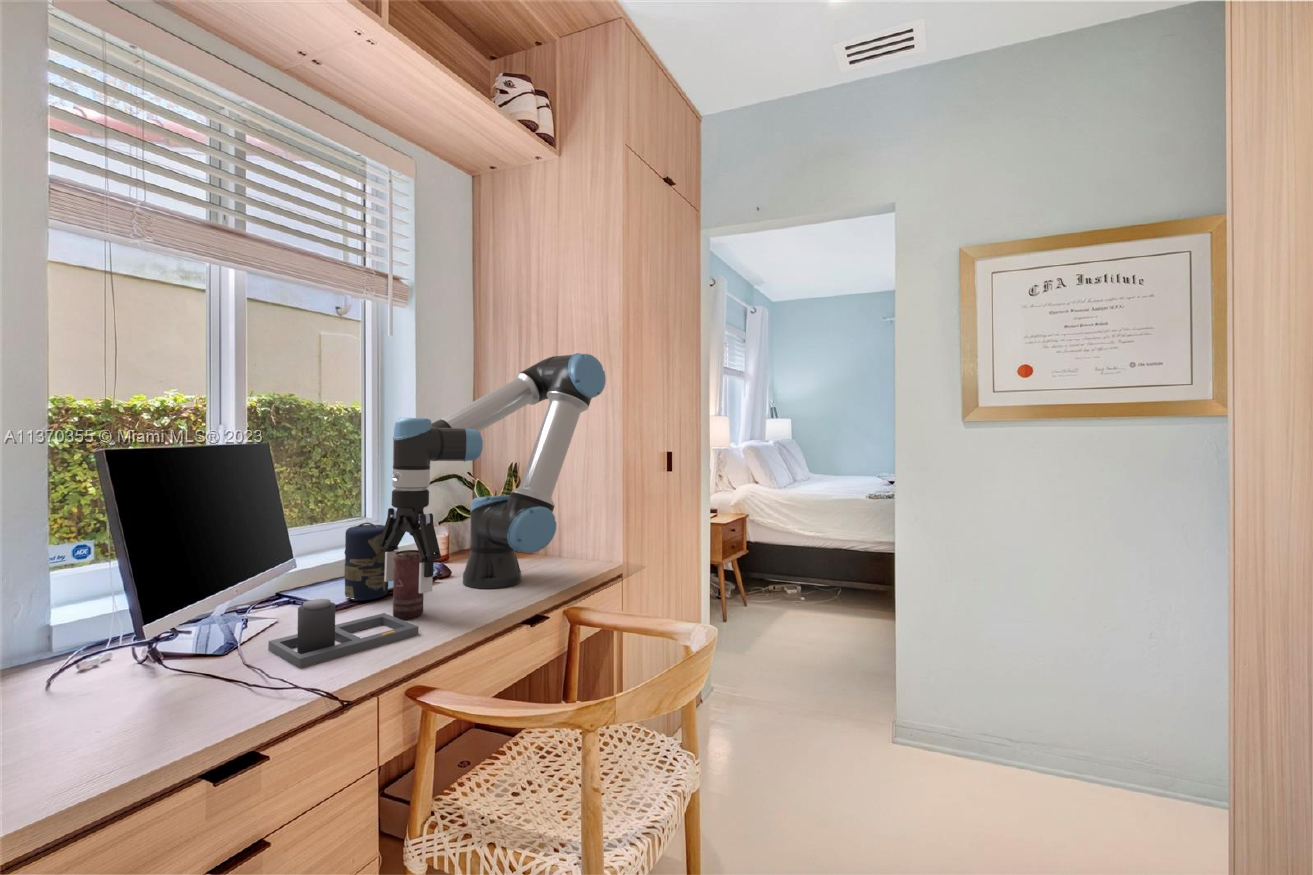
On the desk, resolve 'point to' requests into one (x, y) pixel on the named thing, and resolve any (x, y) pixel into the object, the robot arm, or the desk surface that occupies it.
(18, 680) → the desk surface
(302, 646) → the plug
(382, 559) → the canister
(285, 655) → the desk organizer tray
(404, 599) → the can
